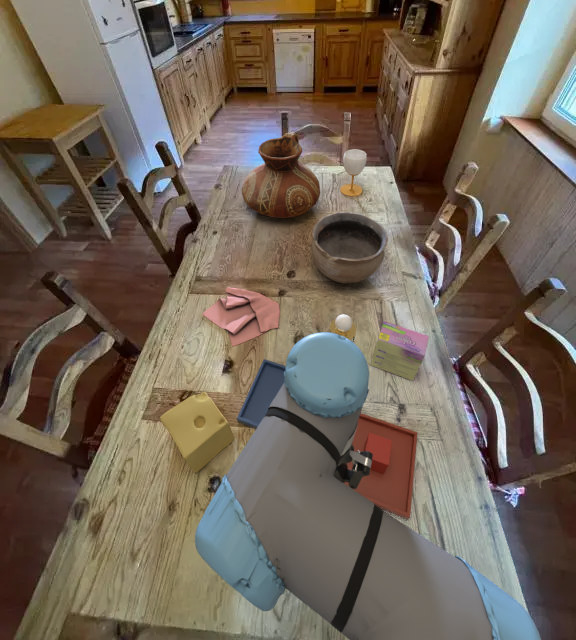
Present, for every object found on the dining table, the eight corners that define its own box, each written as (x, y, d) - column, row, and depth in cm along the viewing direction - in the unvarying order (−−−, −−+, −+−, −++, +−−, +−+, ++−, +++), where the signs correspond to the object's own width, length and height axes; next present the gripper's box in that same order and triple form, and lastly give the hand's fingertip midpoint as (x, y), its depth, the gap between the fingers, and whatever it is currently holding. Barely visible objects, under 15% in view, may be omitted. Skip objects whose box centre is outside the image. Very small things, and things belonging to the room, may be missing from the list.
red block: (383, 474, 67) (388, 465, 63) (360, 465, 69) (364, 456, 64) (386, 450, 70) (392, 440, 66) (365, 442, 72) (368, 432, 67)
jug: (322, 226, 124) (325, 164, 107) (240, 229, 125) (230, 168, 107) (316, 182, 146) (318, 125, 129) (246, 185, 146) (238, 128, 129)
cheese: (212, 403, 79) (203, 383, 72) (238, 441, 73) (231, 423, 66) (171, 434, 75) (157, 416, 68) (195, 478, 68) (182, 463, 61)
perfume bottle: (339, 380, 82) (346, 334, 68) (321, 365, 85) (324, 317, 71) (354, 365, 85) (364, 317, 71) (336, 350, 88) (342, 302, 74)
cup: (338, 194, 139) (341, 158, 128) (342, 182, 145) (346, 147, 134) (360, 197, 137) (365, 161, 125) (364, 186, 143) (369, 150, 132)
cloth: (288, 330, 93) (288, 325, 91) (208, 353, 88) (206, 348, 87) (268, 278, 107) (268, 272, 105) (199, 295, 103) (197, 290, 101)
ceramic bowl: (296, 268, 110) (295, 232, 99) (341, 237, 120) (345, 201, 109) (348, 308, 97) (354, 272, 87) (394, 270, 107) (404, 234, 97)
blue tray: (302, 447, 72) (302, 444, 70) (237, 422, 76) (236, 418, 75) (322, 381, 82) (322, 378, 81) (264, 362, 86) (263, 358, 85)
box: (417, 361, 85) (429, 335, 77) (413, 381, 81) (425, 356, 73) (376, 346, 88) (383, 320, 80) (370, 365, 85) (377, 339, 76)
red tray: (407, 519, 63) (410, 517, 61) (327, 486, 67) (328, 483, 65) (415, 435, 73) (417, 432, 71) (345, 411, 77) (346, 407, 75)
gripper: (403, 422, 40) (375, 474, 56) (267, 373, 45) (278, 434, 62) (393, 493, 35) (366, 527, 52) (241, 429, 40) (261, 479, 57)
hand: (318, 476), depth 57 cm, fingers closed on blue block, 4 cm apart
